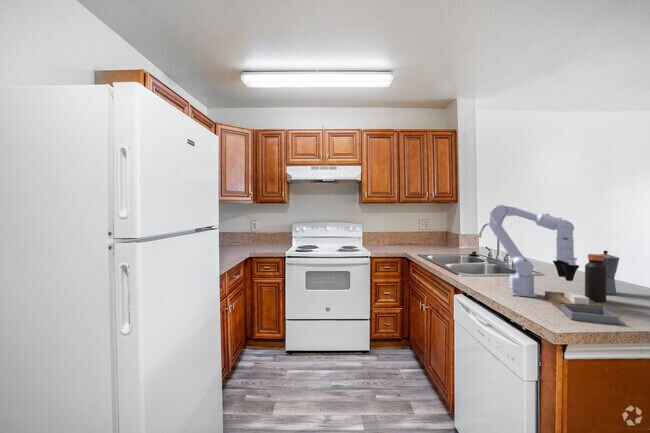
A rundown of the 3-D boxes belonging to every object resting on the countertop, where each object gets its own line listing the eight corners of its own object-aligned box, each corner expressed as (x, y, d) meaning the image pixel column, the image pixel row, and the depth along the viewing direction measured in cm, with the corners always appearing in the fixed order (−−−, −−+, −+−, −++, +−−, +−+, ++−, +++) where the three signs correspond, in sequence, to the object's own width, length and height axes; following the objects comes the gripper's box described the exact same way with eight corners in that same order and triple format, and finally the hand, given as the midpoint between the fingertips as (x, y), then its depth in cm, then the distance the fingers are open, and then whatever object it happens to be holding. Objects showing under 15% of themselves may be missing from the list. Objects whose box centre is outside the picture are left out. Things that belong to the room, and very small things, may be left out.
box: (571, 319, 102) (571, 312, 102) (560, 310, 111) (560, 304, 111) (618, 324, 97) (618, 317, 97) (603, 314, 106) (603, 308, 106)
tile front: (574, 303, 110) (574, 297, 110) (569, 299, 114) (569, 293, 114) (588, 304, 109) (588, 298, 109) (583, 301, 113) (583, 295, 113)
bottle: (610, 303, 119) (611, 256, 118) (591, 302, 120) (592, 255, 120) (598, 298, 125) (598, 253, 125) (580, 297, 127) (581, 253, 126)
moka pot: (626, 293, 131) (627, 251, 131) (604, 297, 127) (604, 253, 126) (601, 288, 140) (602, 248, 140) (580, 291, 136) (580, 250, 135)
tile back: (568, 299, 115) (568, 293, 115) (564, 296, 119) (564, 290, 119) (582, 300, 113) (582, 294, 113) (577, 297, 117) (577, 291, 117)
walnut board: (560, 310, 111) (560, 302, 111) (544, 297, 127) (544, 291, 127) (602, 314, 106) (602, 306, 106) (581, 300, 122) (581, 294, 122)
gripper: (584, 250, 115) (585, 283, 115) (569, 246, 128) (569, 275, 128) (563, 249, 117) (563, 282, 118) (550, 245, 131) (550, 274, 131)
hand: (565, 278), depth 123 cm, fingers open, 7 cm apart
